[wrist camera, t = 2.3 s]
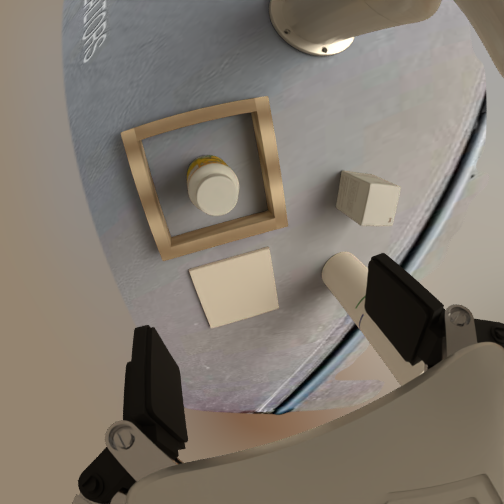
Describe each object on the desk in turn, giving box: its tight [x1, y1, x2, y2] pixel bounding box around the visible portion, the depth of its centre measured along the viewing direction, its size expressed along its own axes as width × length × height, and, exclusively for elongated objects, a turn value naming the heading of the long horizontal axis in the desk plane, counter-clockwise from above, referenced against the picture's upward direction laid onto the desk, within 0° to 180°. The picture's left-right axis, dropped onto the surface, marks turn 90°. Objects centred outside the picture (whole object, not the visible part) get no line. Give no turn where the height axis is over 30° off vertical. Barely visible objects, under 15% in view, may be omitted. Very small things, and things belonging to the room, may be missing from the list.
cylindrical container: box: [322, 252, 424, 386], centre depth 35 cm, size 7×7×25 cm
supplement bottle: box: [187, 155, 239, 216], centre depth 29 cm, size 5×5×10 cm
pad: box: [189, 247, 279, 328], centre depth 42 cm, size 12×12×1 cm
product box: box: [336, 171, 401, 226], centre depth 36 cm, size 6×6×7 cm
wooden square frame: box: [121, 96, 288, 261], centre depth 32 cm, size 17×17×3 cm
